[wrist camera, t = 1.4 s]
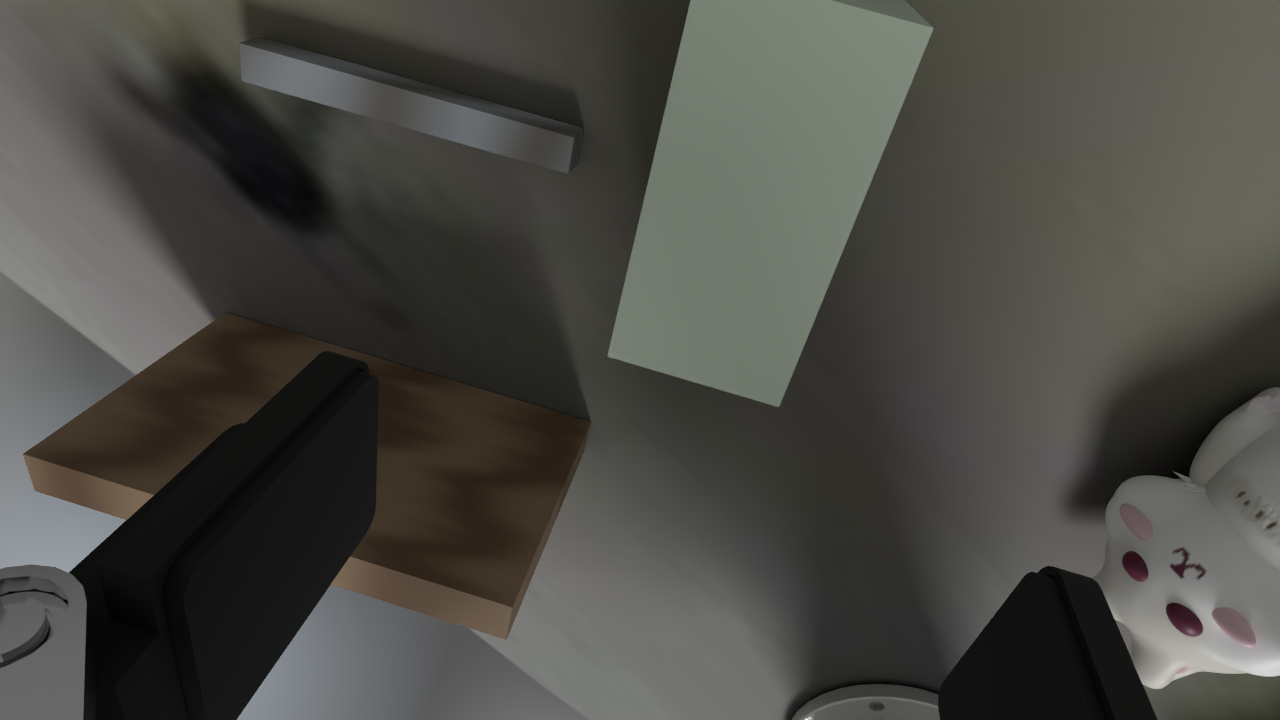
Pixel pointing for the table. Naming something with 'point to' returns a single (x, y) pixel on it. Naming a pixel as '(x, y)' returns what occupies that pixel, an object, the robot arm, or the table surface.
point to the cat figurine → (1202, 555)
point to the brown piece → (407, 403)
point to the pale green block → (760, 182)
